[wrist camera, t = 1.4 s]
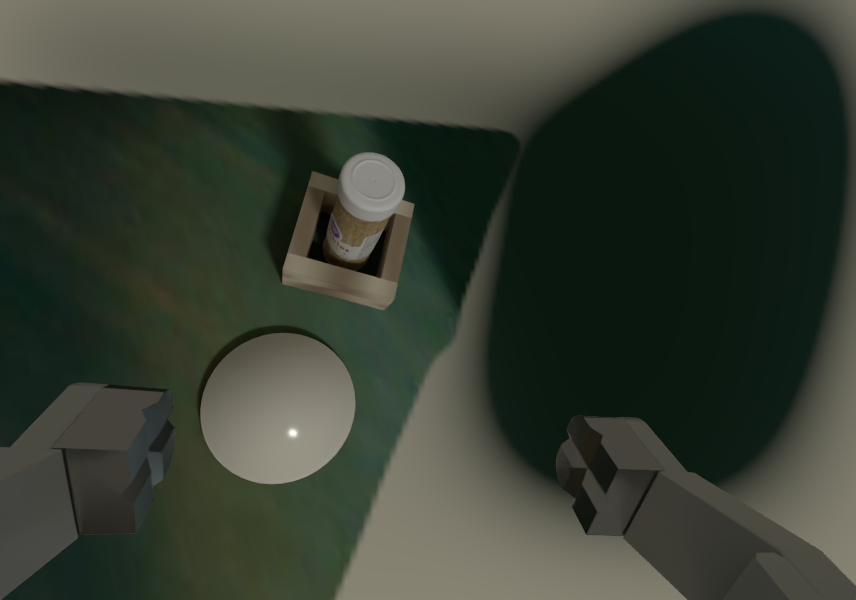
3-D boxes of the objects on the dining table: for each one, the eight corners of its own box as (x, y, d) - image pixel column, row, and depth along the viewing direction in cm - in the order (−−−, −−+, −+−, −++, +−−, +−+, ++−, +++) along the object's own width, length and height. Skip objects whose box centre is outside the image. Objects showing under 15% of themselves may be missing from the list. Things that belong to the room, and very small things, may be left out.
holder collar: (282, 283, 40) (282, 269, 36) (309, 192, 43) (312, 171, 40) (384, 310, 42) (394, 299, 39) (403, 222, 45) (414, 204, 42)
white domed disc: (179, 469, 34) (177, 470, 33) (229, 319, 38) (228, 317, 37) (335, 493, 37) (336, 494, 36) (367, 352, 41) (368, 350, 40)
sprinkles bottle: (312, 244, 42) (326, 167, 30) (350, 220, 44) (378, 138, 31) (342, 283, 42) (369, 222, 30) (379, 257, 44) (419, 189, 31)
